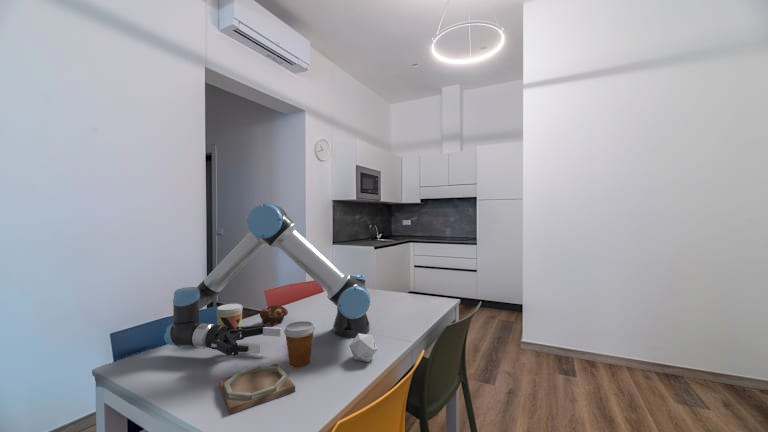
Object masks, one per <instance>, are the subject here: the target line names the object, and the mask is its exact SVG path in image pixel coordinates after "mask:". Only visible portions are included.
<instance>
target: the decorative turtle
mask: <svg viewBox="0 0 768 432" xmlns="http://www.w3.org/2000/svg"><path fill="white" fill-rule="evenodd" d="M259 311H260V312H259V317H260V319H261V322H262V325H263V324H265V325H267V324H270V326H275V325H276V323H279V324H281V323H283V321H284V319H285V317H287V315H288V314H289V310H288V309H287V308H285V306H284V307H283V306H281V305H270V306H268V307H267V308H262V309H261V310H259Z"/></svg>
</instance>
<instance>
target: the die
mask: <svg viewBox="0 0 768 432" xmlns="http://www.w3.org/2000/svg"><path fill="white" fill-rule="evenodd" d="M348 347H349V349H350V351H351V354H352V357H353V359H354V361H360V362H366V363H370V361H371V360H372V359H373V357H374V355H375V354H376V352H377V351H378V347H377V344H376V341H375V339H374V337H373V335H372V334H367V333H366V334H360V333H358V334H357V336H355V337H354V338H353V340H352V341H351V342H350V344H349V346H348Z"/></svg>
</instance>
